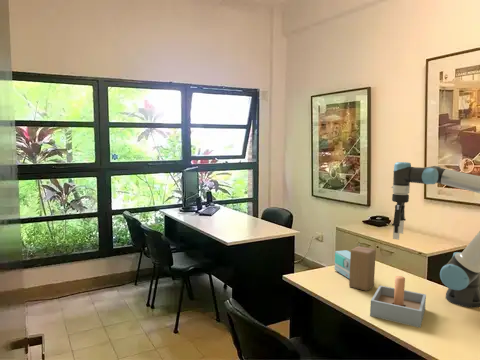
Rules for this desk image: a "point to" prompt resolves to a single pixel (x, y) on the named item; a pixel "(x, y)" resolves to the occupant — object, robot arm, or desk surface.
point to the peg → (399, 290)
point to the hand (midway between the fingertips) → (398, 236)
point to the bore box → (403, 314)
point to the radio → (343, 262)
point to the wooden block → (362, 268)
